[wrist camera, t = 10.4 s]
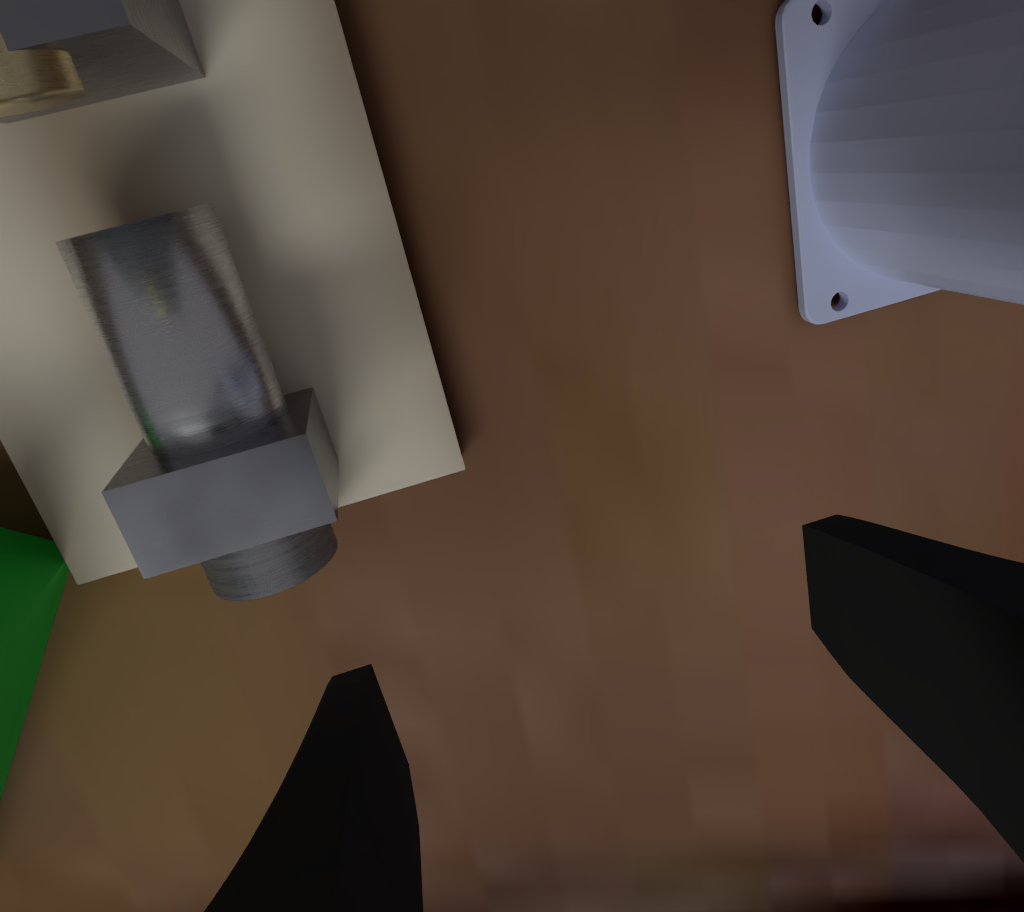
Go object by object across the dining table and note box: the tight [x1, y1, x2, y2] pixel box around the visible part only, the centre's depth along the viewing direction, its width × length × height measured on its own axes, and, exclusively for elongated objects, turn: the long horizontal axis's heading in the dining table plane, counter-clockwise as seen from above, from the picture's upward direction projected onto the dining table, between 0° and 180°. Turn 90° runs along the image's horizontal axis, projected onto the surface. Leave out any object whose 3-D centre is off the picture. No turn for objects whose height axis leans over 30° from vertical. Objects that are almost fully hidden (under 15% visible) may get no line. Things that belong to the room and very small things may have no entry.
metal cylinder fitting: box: [55, 203, 339, 601], centre depth 16 cm, size 8×4×4 cm, turn 13°
